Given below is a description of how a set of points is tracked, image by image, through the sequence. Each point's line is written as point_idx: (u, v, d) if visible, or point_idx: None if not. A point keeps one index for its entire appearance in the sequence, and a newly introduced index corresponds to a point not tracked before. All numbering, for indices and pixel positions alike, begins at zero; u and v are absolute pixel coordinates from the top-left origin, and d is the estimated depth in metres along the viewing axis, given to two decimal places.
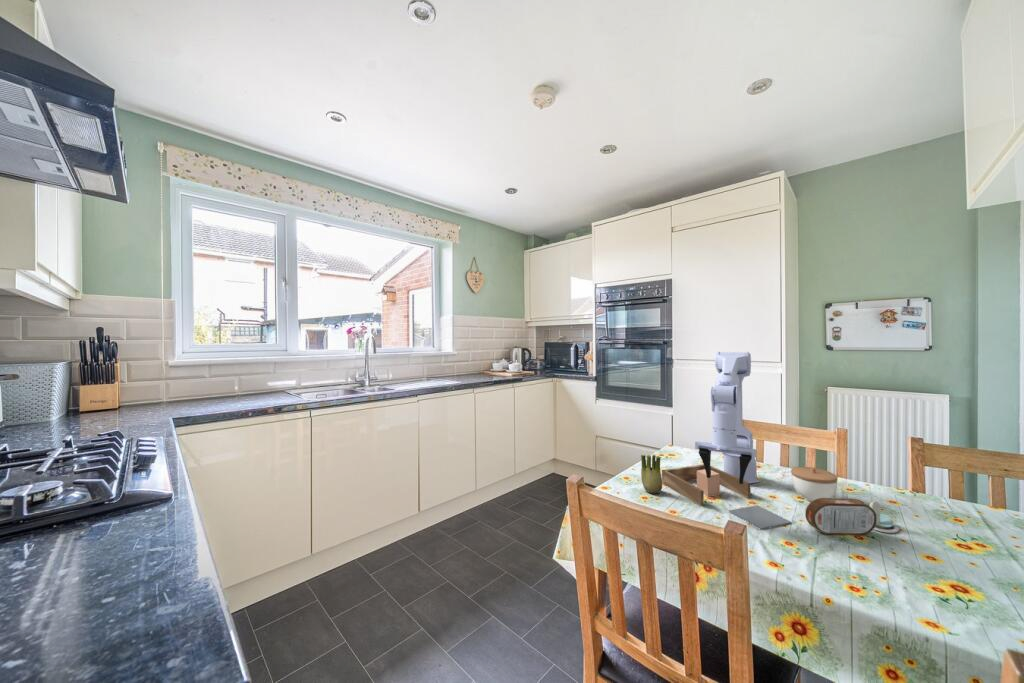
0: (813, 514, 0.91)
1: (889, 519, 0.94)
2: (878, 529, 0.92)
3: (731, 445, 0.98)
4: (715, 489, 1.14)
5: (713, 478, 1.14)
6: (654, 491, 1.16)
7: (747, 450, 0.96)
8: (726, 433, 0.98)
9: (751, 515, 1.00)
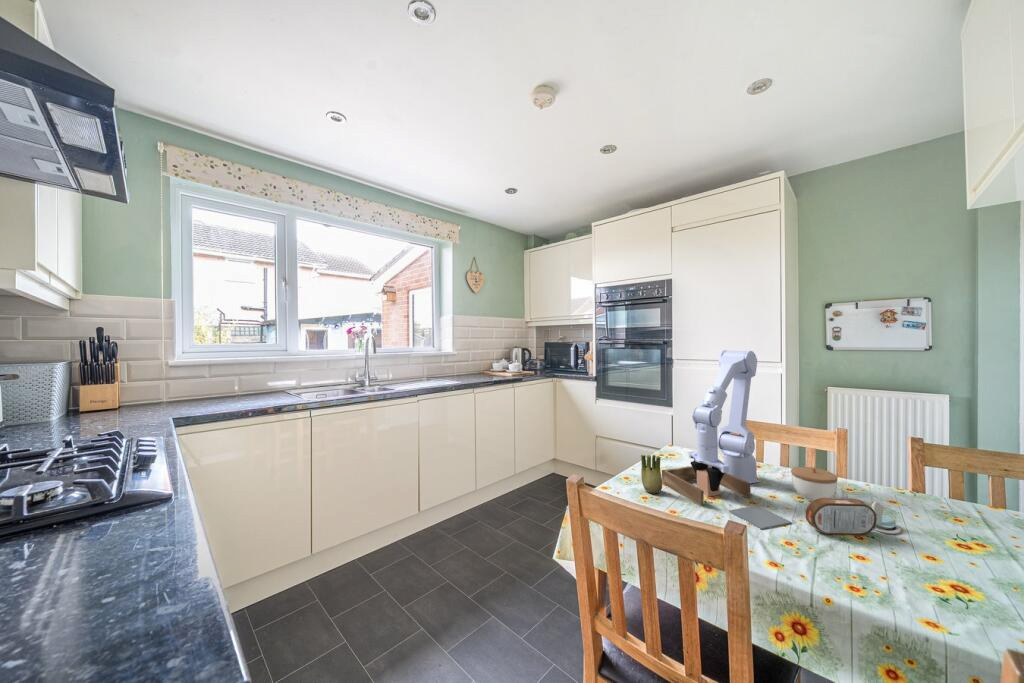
0: (813, 514, 0.91)
1: (891, 520, 0.94)
2: (880, 530, 0.91)
3: (706, 459, 1.14)
4: None
5: None
6: (654, 491, 1.16)
7: (717, 465, 1.11)
8: (701, 449, 1.15)
9: (751, 515, 1.00)
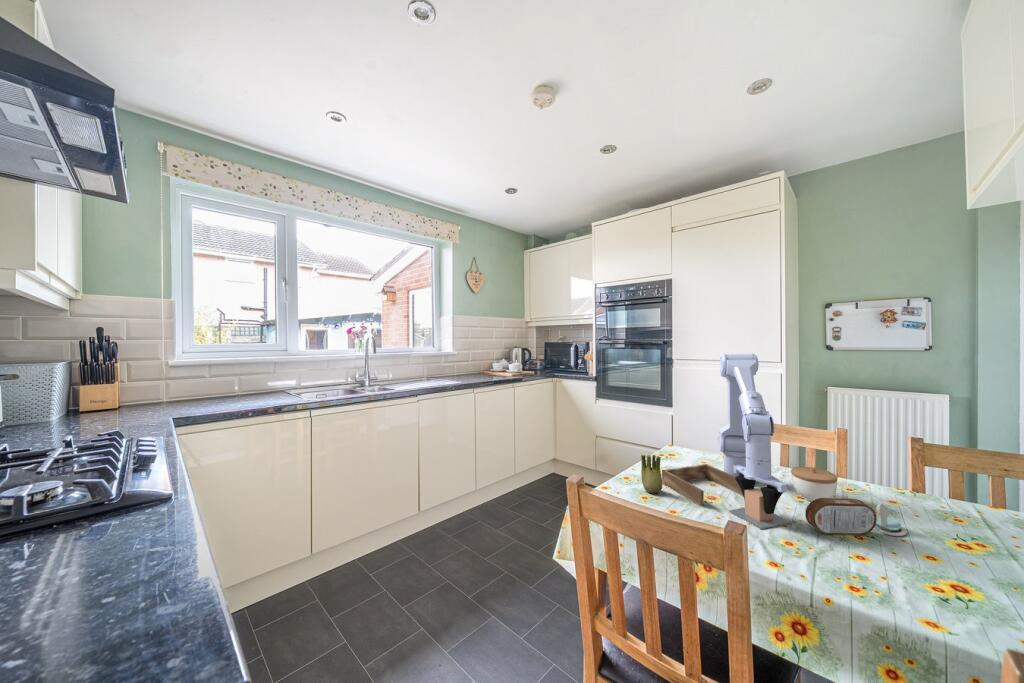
0: (813, 514, 0.91)
1: (896, 522, 0.93)
2: (885, 532, 0.90)
3: (758, 475, 0.97)
4: None
5: None
6: (654, 491, 1.16)
7: (773, 483, 0.94)
8: (752, 463, 0.98)
9: None
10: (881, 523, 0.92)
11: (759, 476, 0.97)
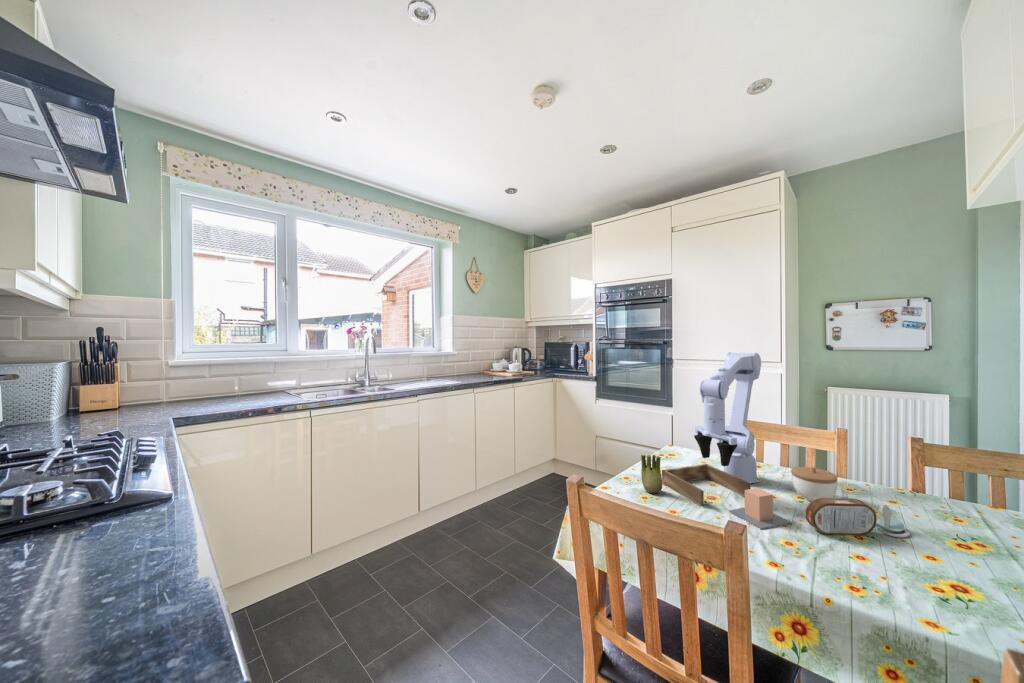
0: (813, 514, 0.91)
1: (899, 523, 0.92)
2: (888, 533, 0.90)
3: (713, 432, 1.12)
4: (768, 512, 0.98)
5: (766, 499, 0.98)
6: (654, 491, 1.16)
7: (725, 438, 1.09)
8: (708, 422, 1.13)
9: None
10: (884, 524, 0.92)
11: (714, 433, 1.12)
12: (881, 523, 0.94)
